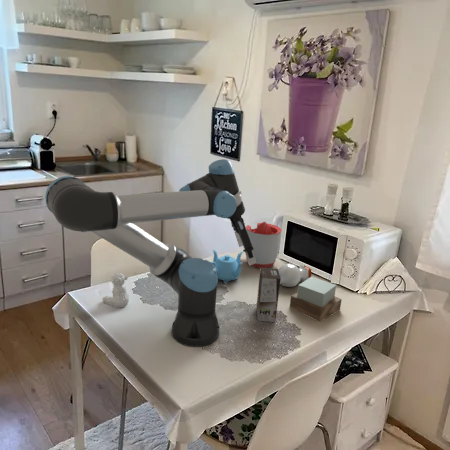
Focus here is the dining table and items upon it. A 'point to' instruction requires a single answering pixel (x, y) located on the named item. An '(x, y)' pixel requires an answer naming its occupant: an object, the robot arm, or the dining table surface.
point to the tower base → (315, 307)
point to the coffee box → (268, 294)
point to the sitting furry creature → (118, 292)
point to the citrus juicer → (264, 243)
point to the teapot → (227, 267)
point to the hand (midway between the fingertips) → (247, 254)
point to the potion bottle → (293, 274)
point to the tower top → (316, 291)
